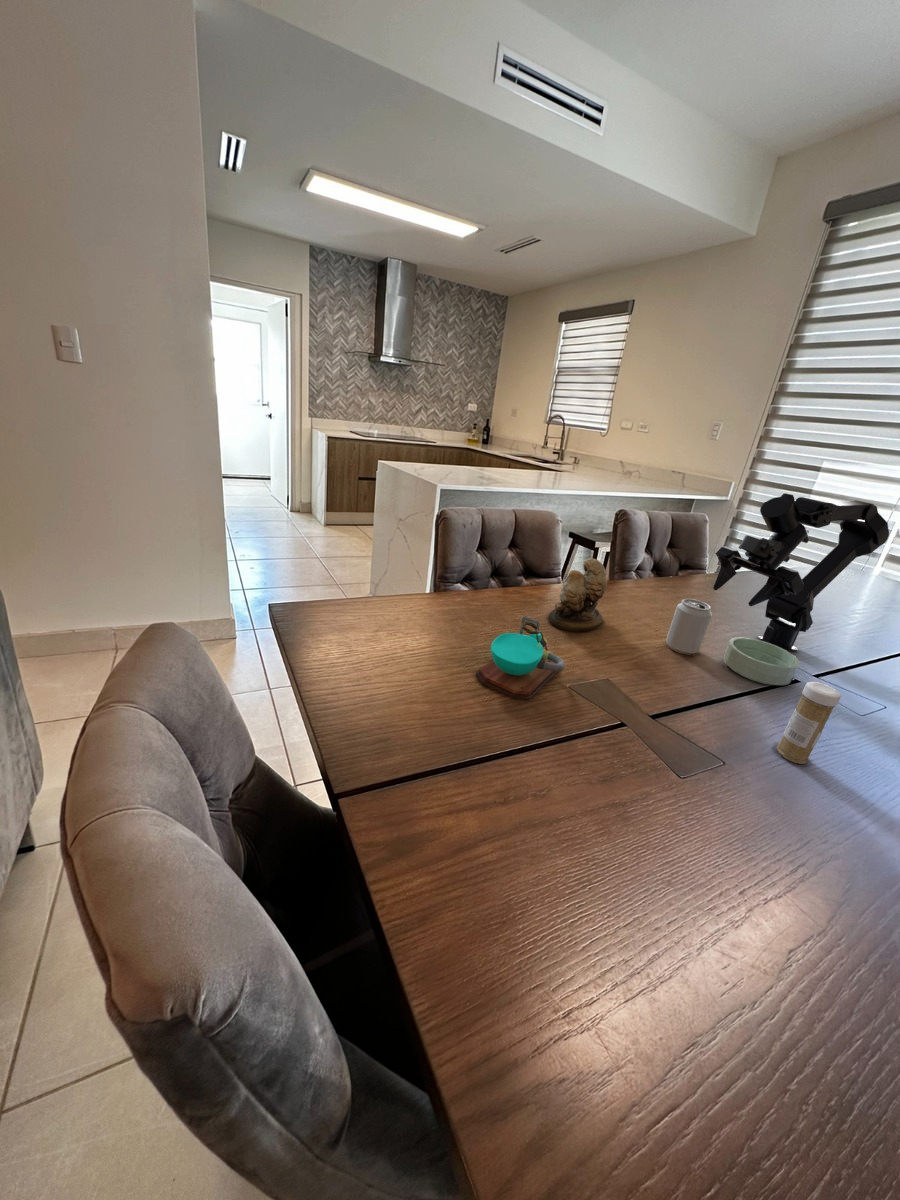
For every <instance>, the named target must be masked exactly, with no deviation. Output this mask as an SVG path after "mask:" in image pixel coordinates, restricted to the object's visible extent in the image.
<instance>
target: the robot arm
mask: <svg viewBox="0 0 900 1200" xmlns="http://www.w3.org/2000/svg"><path fill="white" fill-rule="evenodd" d="M759 512H760V515H761V517H762V518H763V520H764V523H765V525H766V527H767V529H768V530H769V531H770V532H771V534H769V535H768V536H767V538H764V537H761V538H758V537H755V536H751V535H747V534H745V535H744V537H743V538H742V541H741V543H739V545H738V546H737V547H738V549H739V550H743V551H745V552H744V555H745V557H747V559H746V558H744V557H742V555H741V554H740V552H739V550H738V549H735V548H732V547H729V546H726V545H725V546H721V547H719V549H717V551H716V552H714V553H715V556H716V557H717V560H718V562H719V564H720V567H719V571H718V574H717V577H716V580H715V582H714V583H713V587H712V589H713V590H714V591H718V590H719V589H720V588H722V587H723V586H724V585H725V584H726V583H728V582H729V581H730V580H731V579H732V578H734V577H735V576H736V575H737V574H738V573H737V571H739V570H741V568H743V569H747V570H749V571H751V572H754V573H757V574H759V575H762V576H765V577H767V580H766V583H765V584H764V585H763V586H762V587H761V588H760V589H759V590H758V591H757V592H756V593H755V594H754V595H753V597H752V598H751V599H750V600H749V602H748V604H747V605H748V606H749V607H754V606H756V605H758V604H761V603H763V602H766V607H765V615H764V617H765V618H767V619H769V620H770V621H769V623H768V625H766V628H765V631H764V633H763V635H761V636H759V635H758V637H757V640H761V641H764V642H768V643H770V644H773V645H776V646H778V647H780V648H782V649H784V650H786V651H789V652H790V651H791V652H797V651H798V648H797V647H795V646H794V644H795V643H796V640H797V638H798V635H799V634H800V632H802V633H806V632H807V631H808V630H810V628H811V626H812V625H813V623H814V621H813V619H812V614H811V612H812V611H813V610H814V603H815V598H816V597H817V596H818V595H819V594H820V593H821V592H822V591H824V589H825V588H826V587H827V586H828V585H830V584H831V582H833V580H835V579H836V578H837V576H839V575H840V574H841V573H842V572H843V571H844V570H845V569H846V568H847V567H848V566H850V565H851V563H852V562H853V561H854V560H855V559H857V558H859V557H863V556H866V555H869V554H872V553H873V552H874V551H876V550H877V549H878V548H880V547H881V546H883V545H884V544H885V543H887V541H888V539H889V537H890V530H889V523H888V521H887V520H886V519H885V518H884V517H883V516H882V515H881V514H880V513H879V510H878V506H877V505H875V504H874V503H871V502H866V501H862V500H850V501H823V500H819V499H814V498H810V497H806V496H799V497H797V498H795V496H794V494H790V493H787V492H784V493H782V494H781V496H776V497H773V498H770V499H768V500H766V501H764V502H763V503H762V505H761V506H760V509H759ZM839 521H840V523H839V527H840V532H839V533H838V543H837V544H836V545H835V547H833V549H832V550H830V551H829V552H828V553H827V554H826V555H825V556H824V557H823V558H822V559H821V560H820V561H819V562H818V563H817V564H816V565H815V566H814V567H812V569H810V571H809V572H807V574H806V575H805V576H804V577H802V576H801V575H800V573H799V571H798V570H795V569H792V568H789V567H786V566H783V565H782V566H781V564H782V563H788V562H789V561H790V560H791V558H790V555H791V554H792V552H793V551H795V550H796V548H797V547H799V545H800V544H801V543H804V544H808V543H809V540H810V537H809V533H810V531H809V530H807V529H806V526H808V527H812V528H816V529H820V528H824V527H827V526H830V525H831V523H832V522H839Z"/></svg>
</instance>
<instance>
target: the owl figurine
mask: <svg viewBox="0 0 900 1200" xmlns="http://www.w3.org/2000/svg"><path fill="white" fill-rule="evenodd" d="M583 570H584V574H583V573H582V572H581V571H579V570H577V569H571V570H569V572H568V575H567V576H566V577H565V578H564V581H563V583H562V587H561V589H560V593H559V600H560V602H556V603H555V605H554V609H553V610H551V611H550V612H549V615H548V621H549V623H550V624H551V625H552V626H554V627H555V628H558V629H560V630H564V631H566V632H570V633H571V632H572V633H573V632H574V633H579V632H580V633H582V632H588V631H592V630H595V629H597V628H598V627H599V626H600V625H601V624H602V622H603V615H602V614H601V612H600V611H599V610H598V609H597V606H598V603H599V601H600V600H601V599H602V598H603V597H604V594H605V593H606V590H607V587H608V586H607V585H608V577H607V571H606V568H605V566H604V564H603V563H602V562H601V561H600V560H599V559H596V558H593V557H589V558H587V559H585V560H584V563H583Z"/></svg>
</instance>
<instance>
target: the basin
mask: <svg viewBox="0 0 900 1200" xmlns="http://www.w3.org/2000/svg"><path fill="white" fill-rule="evenodd" d="M722 660H723V662H724V664H725V665H726V666H727V667H728V668H730V669H731V670H732V671H733V672H735V673H736V674H738V675H739V676H741V677H744V678H746V679H748V680H750V681H753V682H756V683H760V684H764V685H769V686H786V685H790V684H791V682H792V681H793V680H794V678H795V675H796V673H797V671H798V669H799V666H800V665H801V664H800V660H799V658H798V657H796V656H795V655H794V654H792V653H791V652H790V651H789V650H784V649H782V648H780V647H778V646H776V645H773V644H770V643H768V642H764V641H761V640H760V639H758V638H751V637H745V636H744V637H743V636H741V637H740V636H738V637H737V636H736V637H732V638H731V639H729V641H728V644H727V647H726V648H725V652H724V655H723V659H722Z"/></svg>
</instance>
